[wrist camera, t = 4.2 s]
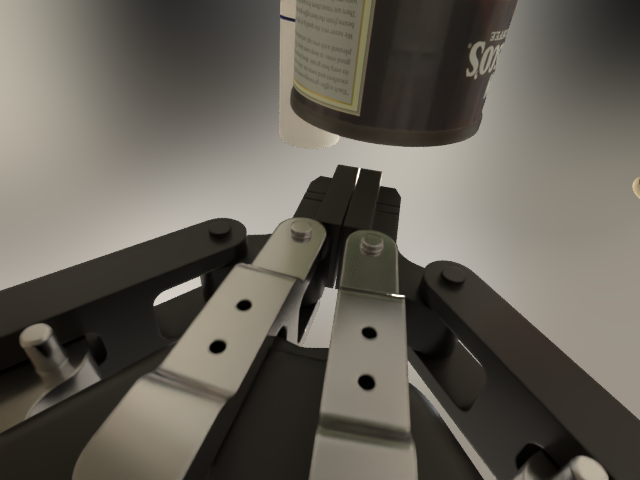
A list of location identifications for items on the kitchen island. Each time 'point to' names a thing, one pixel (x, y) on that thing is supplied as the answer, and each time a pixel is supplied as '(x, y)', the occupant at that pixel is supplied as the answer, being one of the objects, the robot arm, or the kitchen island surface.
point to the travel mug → (637, 187)
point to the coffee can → (397, 67)
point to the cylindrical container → (289, 123)
